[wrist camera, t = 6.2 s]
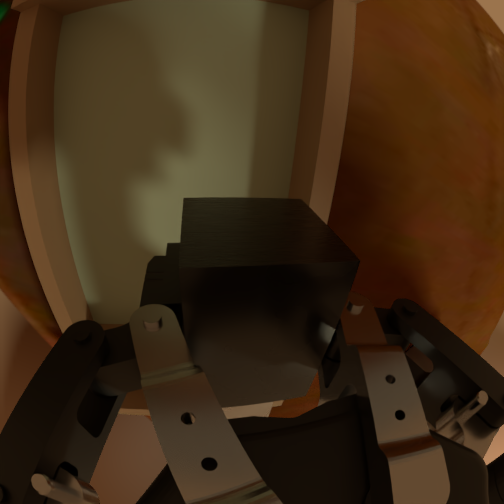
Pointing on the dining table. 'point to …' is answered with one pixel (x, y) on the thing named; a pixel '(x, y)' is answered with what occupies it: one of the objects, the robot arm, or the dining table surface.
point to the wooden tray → (164, 129)
